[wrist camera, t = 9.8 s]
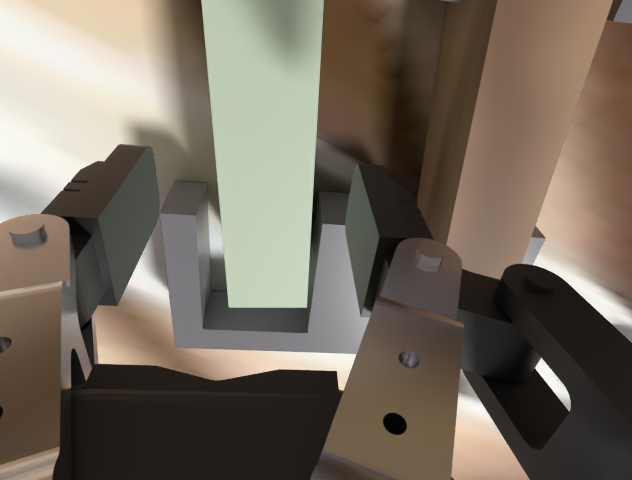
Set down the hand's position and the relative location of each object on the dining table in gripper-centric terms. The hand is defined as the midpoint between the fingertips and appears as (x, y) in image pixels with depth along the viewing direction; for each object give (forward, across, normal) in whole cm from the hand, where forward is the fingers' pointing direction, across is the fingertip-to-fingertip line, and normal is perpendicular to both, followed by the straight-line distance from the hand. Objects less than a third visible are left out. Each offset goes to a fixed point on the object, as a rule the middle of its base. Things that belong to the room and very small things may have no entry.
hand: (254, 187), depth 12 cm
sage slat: (+9, 0, 0) cm, 9 cm away
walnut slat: (+9, -9, 0) cm, 13 cm away
